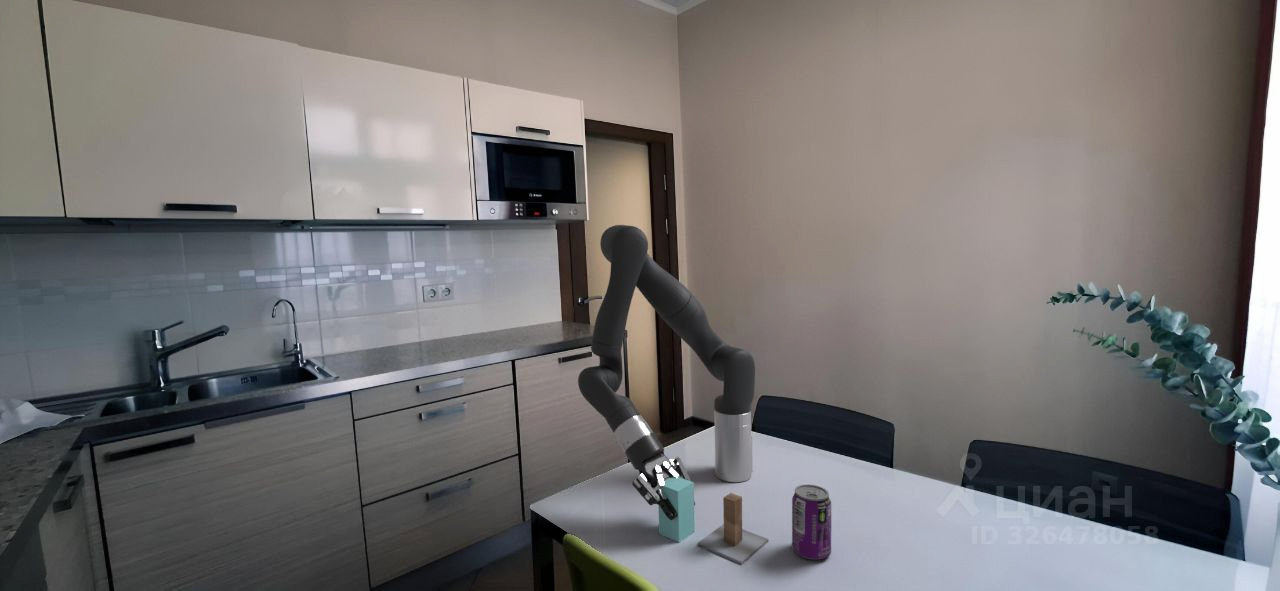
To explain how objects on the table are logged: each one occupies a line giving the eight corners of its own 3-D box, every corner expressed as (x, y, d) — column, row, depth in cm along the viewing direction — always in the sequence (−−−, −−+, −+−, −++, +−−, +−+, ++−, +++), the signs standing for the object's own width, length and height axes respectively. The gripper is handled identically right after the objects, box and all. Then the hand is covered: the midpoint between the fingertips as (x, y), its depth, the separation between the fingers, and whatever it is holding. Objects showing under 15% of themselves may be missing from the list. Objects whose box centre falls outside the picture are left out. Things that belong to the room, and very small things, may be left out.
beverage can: (834, 564, 96) (834, 501, 95) (793, 561, 97) (793, 498, 96) (828, 543, 103) (828, 484, 102) (790, 540, 104) (790, 482, 103)
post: (725, 524, 111) (725, 481, 110) (768, 541, 104) (768, 495, 103) (697, 545, 103) (696, 498, 103) (741, 564, 97) (741, 515, 96)
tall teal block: (674, 523, 112) (673, 475, 111) (694, 531, 108) (693, 482, 107) (659, 533, 108) (658, 483, 107) (679, 542, 105) (678, 491, 104)
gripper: (624, 442, 106) (671, 518, 99) (668, 423, 117) (714, 491, 110) (606, 460, 110) (651, 535, 103) (651, 441, 121) (694, 507, 114)
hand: (683, 512), depth 107 cm, fingers closed on tall teal block, 5 cm apart
